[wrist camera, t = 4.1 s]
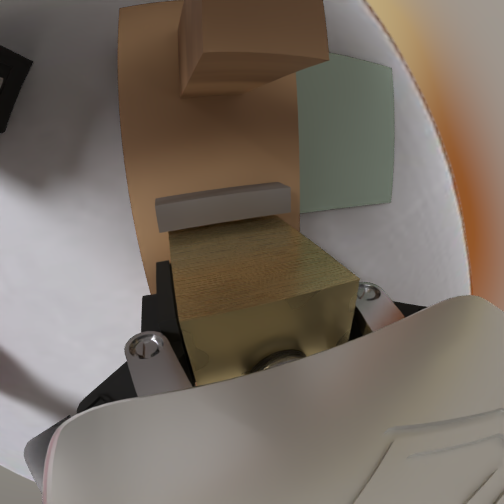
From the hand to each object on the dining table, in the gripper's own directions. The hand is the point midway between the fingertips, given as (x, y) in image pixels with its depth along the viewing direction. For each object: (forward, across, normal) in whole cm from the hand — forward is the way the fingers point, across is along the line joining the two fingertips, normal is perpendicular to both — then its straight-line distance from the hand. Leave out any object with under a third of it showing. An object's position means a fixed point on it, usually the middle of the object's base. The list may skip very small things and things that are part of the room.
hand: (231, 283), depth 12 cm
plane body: (+5, 0, 0) cm, 5 cm away
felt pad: (+5, -9, -6) cm, 12 cm away
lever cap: (+1, 0, 0) cm, 1 cm away
